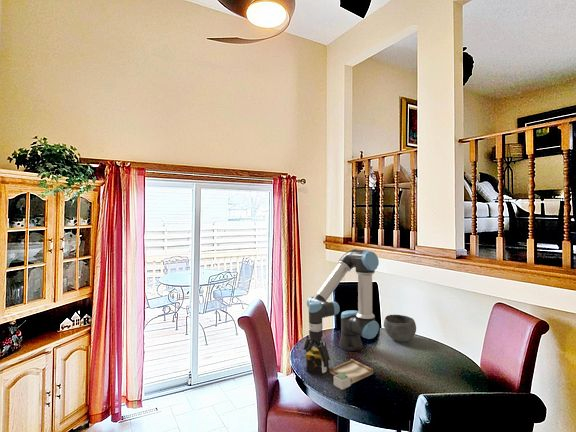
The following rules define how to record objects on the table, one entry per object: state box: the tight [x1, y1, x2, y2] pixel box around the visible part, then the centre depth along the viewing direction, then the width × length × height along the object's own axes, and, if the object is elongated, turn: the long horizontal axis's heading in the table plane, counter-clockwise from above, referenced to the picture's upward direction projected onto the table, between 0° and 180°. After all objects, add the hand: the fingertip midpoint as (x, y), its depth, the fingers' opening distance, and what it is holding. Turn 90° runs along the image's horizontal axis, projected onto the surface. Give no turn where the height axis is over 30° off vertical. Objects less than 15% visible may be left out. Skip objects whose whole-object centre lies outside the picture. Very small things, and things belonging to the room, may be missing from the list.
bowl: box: [383, 314, 417, 343], centre depth 220 cm, size 21×21×15 cm
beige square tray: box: [328, 358, 374, 385], centre depth 176 cm, size 16×18×2 cm
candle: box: [305, 347, 330, 376], centre depth 181 cm, size 10×10×10 cm
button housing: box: [333, 374, 351, 391], centre depth 164 cm, size 6×6×4 cm
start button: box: [338, 373, 345, 380], centre depth 164 cm, size 4×4×4 cm
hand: (316, 367), depth 180 cm, fingers closed on candle, 12 cm apart
